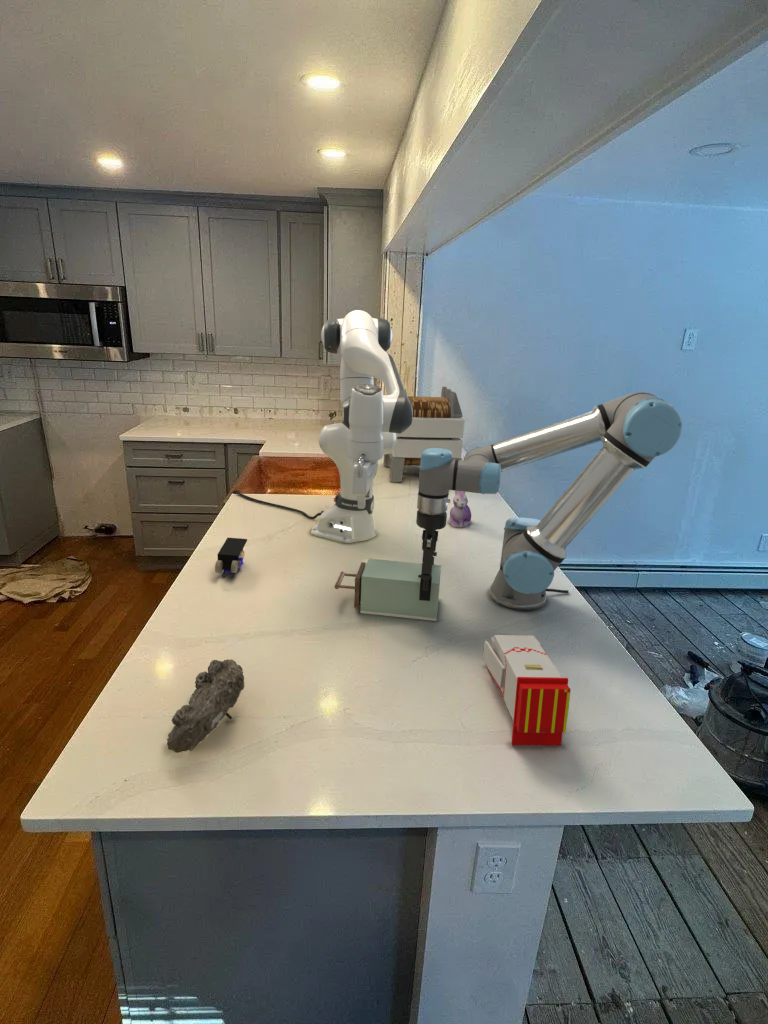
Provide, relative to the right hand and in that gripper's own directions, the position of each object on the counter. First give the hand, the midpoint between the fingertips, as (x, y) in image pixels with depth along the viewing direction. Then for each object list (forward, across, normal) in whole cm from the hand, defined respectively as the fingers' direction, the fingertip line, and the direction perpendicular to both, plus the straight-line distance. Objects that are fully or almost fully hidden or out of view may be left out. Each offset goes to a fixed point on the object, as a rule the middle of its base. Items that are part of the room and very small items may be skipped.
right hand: (426, 589), depth 149 cm
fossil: (+6, -50, +37) cm, 63 cm away
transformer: (+6, +132, +11) cm, 132 cm away
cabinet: (+6, 0, +6) cm, 9 cm away
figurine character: (+6, +11, +58) cm, 59 cm away
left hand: (-21, +5, +18) cm, 28 cm away
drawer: (+5, 0, +12) cm, 13 cm away
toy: (+6, -33, -22) cm, 40 cm away
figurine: (+6, +67, -9) cm, 67 cm away
